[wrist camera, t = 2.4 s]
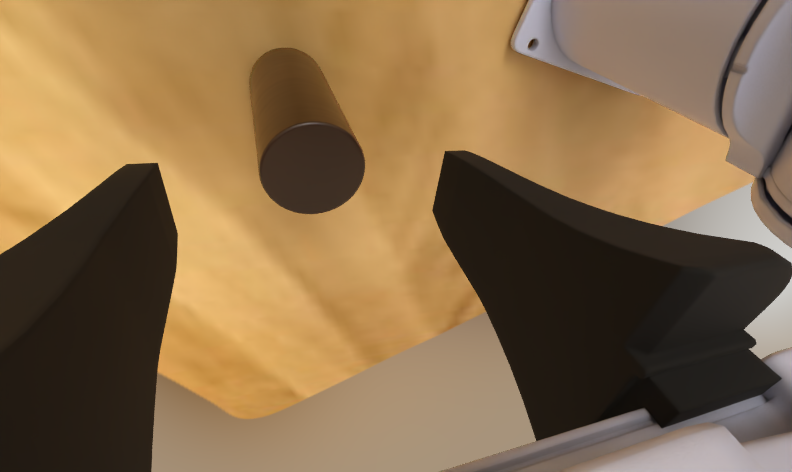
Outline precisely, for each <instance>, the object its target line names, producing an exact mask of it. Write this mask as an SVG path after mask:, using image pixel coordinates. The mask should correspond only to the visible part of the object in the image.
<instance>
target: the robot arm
mask: <svg viewBox="0 0 792 472" xmlns="http://www.w3.org/2000/svg"><path fill="white" fill-rule="evenodd" d="M532 39H534V42H533V45H532V46H531V47H530V48H528V44H529V42H530V41H531V40H532ZM511 47H512V49H513V50H515V51H516V52H518V53H520V54H523V55H526V56H529V57H532V58H535V59H537V60H540V61H543V62H546V63H549V64H551V65H554V66H557V67H560V68H563V69H565V70H568V71H571V72H574V73H577V74H579V75H582V76H585V77H588V78H591V79H594V80H596V81H599V82H602V83H605V84H608V85H610V86H613V87H616V88H619V89H622V90H624V91H627V92H630V93H633V94H636V95H642V96H644V97H646V98H648V99H650V100H652V101H654V102H656V103H658V104H660V105H662V106H664V107H666V108H668V109H670V110H672V111H674V112H676V113H678V114H680V115H682V116H684V117H686V118H688V119H690V120H692V121H695V122H697V123H699V124H701V125H703V126H705V127H707V128H709V129H711V130H713V131H715V132H717V133H719V134H721V135H723V136H725V137H727V138H729V139H730V146H729V151H728V153H727V156H726V161H727V162H729V163H731V164H733V165H734V166H736V167H738V168H740V169H742V170H744V171H746V172H747V173H749V174H751V175H753V176H755V179H754V182H753V184H752V187H751V201H752V204H753V207H754V210H755V212H756V213H757V215H758V216H759V218H760V220H761V221H762V222H763V223H764V225H765V226H766V227H767V228H768V229H769V230H770V231H771V232H772V233H773V234H774V235H776V236H777V237H778V238H779V239H780V240H782V241H783V242H784V243H785V244H786V245H788V246H789V247H791V248H792V0H529V1H528V3H527V5H526V7H525V9H524V11H523V14H522V16H521V18H520V20H519V22H518V25H517V27H516V29H515V31H514V33H513V36H512V39H511ZM432 211H433V213H434V216H435V219H436V221H437V224H438V226H439V229H440V231H441V233H442V236H443V238H444V240H445V241H446V243H447V245H448V247H449V248H450V250H451V252H452V253H453V255H454V257H455V259H456V260H457V262H458V263H459V265H460V267H461V268H462V270H463V272H464V273H465V275H466V277H467V278H468V280H469V282H470V283H471V285H472V286H473V288H474V290H475V291H476V293H477V295H478V297H479V298H480V300H481V302H482V304H483V306H484V308H485V310H486V312H487V314H488V316H489V318H490V320H491V323H492V325H493V327H494V329H495V331H496V334H497V336H498V338H499V340H500V343H501V345H502V348H503V350H504V353H505V355H506V357H507V360H508V362H509V364H510V367H511V370H512V372H513V375H514V377H515V380H516V383H517V386H518V388H519V391H520V394H521V396H522V399H523V401H524V405H525V408H526V410H527V414H528V417H529V419H530V423H531V426H532V429H533V432H534V435H535V438H536V442H533V443H530V444H526V445H523V446H520V447H517V448H513V449H510V450H507V451H504V452H501V453H498V454H494V455H491V456H488V457H485V458H482V459H478V460H475V461H472V462H469V463H465V464H462V465H459V466H456V467H453V468H450V469H446V470H443V471H440V472H792V347H791V348H788V349H784V350H781V351H777V352H775V353H772V354H770V355H768V356H766V357H765V358H763V359H759V358H758V357H757V356H756V355H755V354H753V352H751V351H750V350H749V348H752V347H753V346H755V345H756V340H755V339H754V338H753V337H752V336H750V335H749V334H748V333H747V332H746V331H744V329H745V327H747V326H748V325H749V324H750V323H751V322H752V321H753V320H754V319H755V318H756V317H757V316H758V315H759V314H760V313H761V312H762V311H763V310H765V309H766V308H767V307H768V306H769V305H770V304H771V303H772V302H773V301H774V300H775V299H776V298H777V297H778V296H779V295H780V293H781V292H782V291H783V290H784V289H785V287H786V286H787V284H788V283H789V282H790V279H791V277H792V264H791V262H789V261H787V260H786V259H785V258H783V257H781V256H780V255H779V254H777V253H776V252H774V251H773V250H771V249H769V248H768V247H765V246H762V245H760V244H757V243H754V242H748V241H741V240H734V239H728V238H721V237H715V236H708V235H701V234H696V233H691V232H686V231H681V230H677V229H672V228H667V227H663V226H659V225H654V224H650V223H646V222H642V221H639V220H635V219H631V218H628V217H624V216H621V215H617V214H614V213H611V212H607V211H604V210H601V209H598V208H596V207H593V206H590V205H587V204H584V203H582V202H579V201H576V200H573V199H571V198H568V197H566V196H563V195H561V194H559V193H557V192H554V191H552V190H550V189H547V188H545V187H543V186H541V185H538V184H536V183H534V182H532V181H530V180H528V179H526V178H524V177H522V176H520V175H518V174H516V173H514V172H512V171H510V170H508V169H505V168H503V167H501V166H499V165H497V164H495V163H493V162H491V161H489V160H487V159H485V158H483V157H480V156H478V155H476V154H473V153H471V152H468V151H445V154H444V159H443V163H442V168H441V173H440V177H439V182H438V187H437V191H436V196H435V201H434V205H433V210H432ZM177 239H178V233H177V230H176V226H175V222H174V219H173V215H172V212H171V208H170V205H169V201H168V198H167V194H166V191H165V187H164V184H163V180H162V177H161V173H160V170H159V166H158V163H145V164H126V165H125V166H123V167H122V168H120V169H119V170H118V171H116V172H115V173H114V174H112V175H111V176H110V177H108V178H107V179H106V180H105V181H103V182H102V183H101V184H100V185H98V186H97V187H96V188H95V189H93V190H92V191H91V192H90V193H88V194H87V195H86V196H84V197H83V198H82V199H81V200H79V201H78V202H77V203H75V204H74V205H73V206H72V207H70V208H69V209H68V210H66V211H65V212H63V213H62V214H61V215H59V216H58V217H56V218H55V219H53V220H52V221H50V222H49V223H48V224H46V225H45V226H43V227H42V228H40V229H39V230H38V231H36V232H35V233H33V234H32V235H30V236H29V237H28V238H26V239H24V240H23V241H21V242H20V243H18V244H17V245H15V246H13V247H12V248H10V249H9V250H7V251H5V252H4V253H2V254H0V472H151V464H152V442H153V425H154V407H155V394H156V381H157V368H158V361H159V354H160V348H161V343H162V338H163V333H164V328H165V323H166V318H167V313H168V308H169V303H170V299H171V294H172V288H173V283H174V278H175V273H176V264H177Z"/></svg>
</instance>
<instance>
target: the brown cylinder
mask: <svg viewBox="0 0 792 472" xmlns="http://www.w3.org/2000/svg"><path fill="white" fill-rule="evenodd" d="M250 93H251V103H252V112H253V122H254V131H255V140H256V150H257V159H258V168H259V177H260V181H261V184H262V186H263V188H264V190H265V191H266V193H267V194H268V195H269V197H270V198H271V199H272V200H273V201H274V202H276V203H277V204H278V205H280V206H281V207H283V208H285V209H287V210H290V211H293V212H297V213H302V214H318V213H323V212H327V211H330V210H333V209H335V208H337V207H339V206H341V205H342V204H344V203H345V202H347V201H348V200H349V199H350V198H351V197H352V196H353V195H354V194H355V192H356V191H357V190H358V188H359V186H360V184H361V182H362V179H363V176H364V172H365V159H364V154H363V151H362V149H361V147H360V145H359V143H358V141H357V139H356V137H355V135H354V133H353V131H352V129H351V127H350V125H349V123H348V122H347V120H346V118H345V116H344V114H343V112H342V110H341V108H340V106H339V104H338V102H337V100H336V98H335V96H334V94H333V93H332V91H331V89H330V87H329V85H328V83H327V81H326V79H325V77H324V75H323V73H322V71H321V69H320V67H319V66H318V65H317V63H316V62H315V61H314V60H313V59H312V58H311V57H310V56H308V55H307V54H305V53H303V52H301V51H299V50H296V49H292V48H278V49H274V50H271V51H269V52H267V53H265V54H264V55H263V56H261V57H260V58H259V59H258V60H257V62H256V63H255V65H254V67H253V68H252V71H251V75H250Z"/></svg>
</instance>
